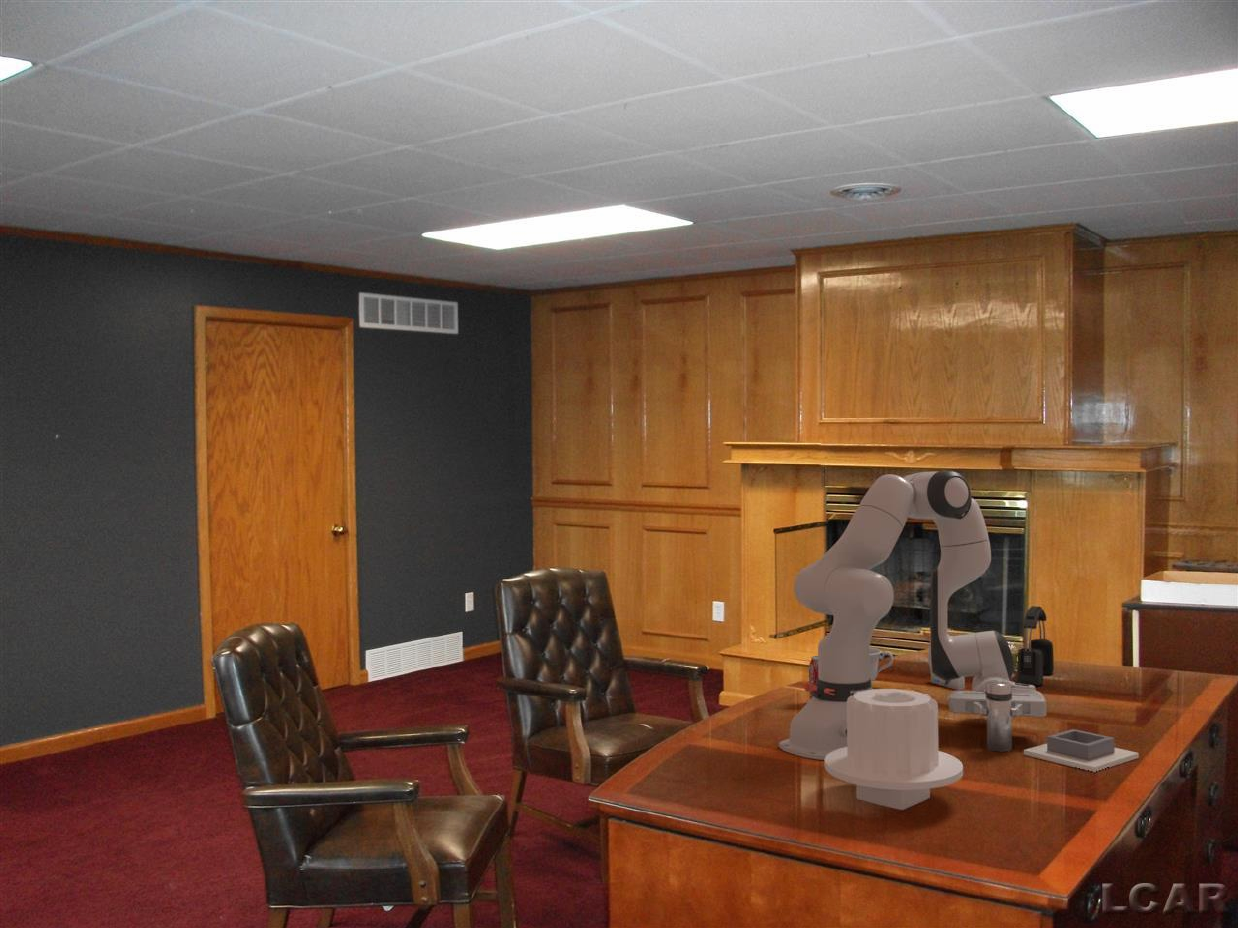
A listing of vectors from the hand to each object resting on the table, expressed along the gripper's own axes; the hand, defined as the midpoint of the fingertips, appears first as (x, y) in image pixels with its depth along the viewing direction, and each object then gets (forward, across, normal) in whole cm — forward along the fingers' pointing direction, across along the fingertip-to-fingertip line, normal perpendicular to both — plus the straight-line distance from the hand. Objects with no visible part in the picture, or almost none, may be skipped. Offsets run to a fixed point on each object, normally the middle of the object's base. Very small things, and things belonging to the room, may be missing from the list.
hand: (999, 712), depth 236 cm
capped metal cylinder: (-1, 0, +8) cm, 8 cm away
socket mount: (+2, +16, +8) cm, 18 cm away
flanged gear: (+37, -22, +8) cm, 44 cm away
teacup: (-56, -30, +8) cm, 65 cm away
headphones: (-75, +15, +8) cm, 76 cm away
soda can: (-34, -40, +8) cm, 53 cm away
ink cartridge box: (-62, -9, +8) cm, 63 cm away
